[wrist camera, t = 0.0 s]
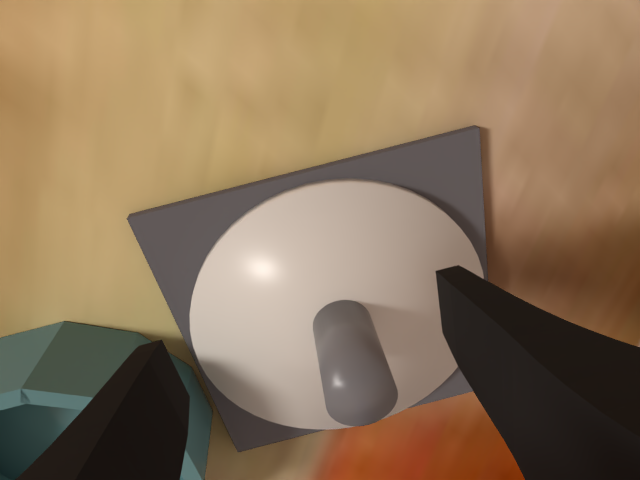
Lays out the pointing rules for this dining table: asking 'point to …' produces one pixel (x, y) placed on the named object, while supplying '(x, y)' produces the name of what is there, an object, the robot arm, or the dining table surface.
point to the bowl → (75, 390)
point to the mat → (230, 204)
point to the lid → (329, 304)
